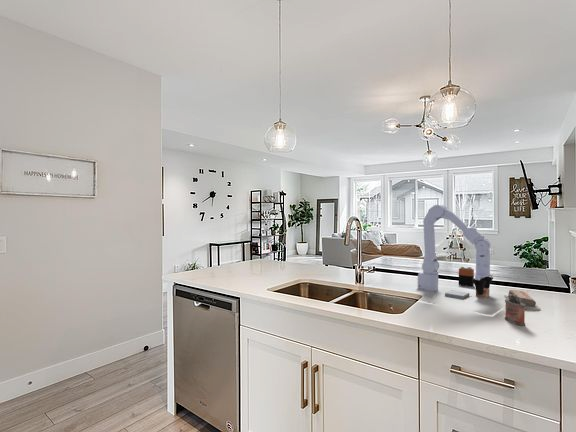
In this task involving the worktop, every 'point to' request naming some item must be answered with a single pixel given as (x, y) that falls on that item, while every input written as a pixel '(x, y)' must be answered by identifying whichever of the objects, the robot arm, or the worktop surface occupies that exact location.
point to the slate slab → (457, 294)
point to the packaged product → (525, 299)
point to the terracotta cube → (484, 293)
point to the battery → (466, 276)
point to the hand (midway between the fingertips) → (482, 293)
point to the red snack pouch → (515, 310)
